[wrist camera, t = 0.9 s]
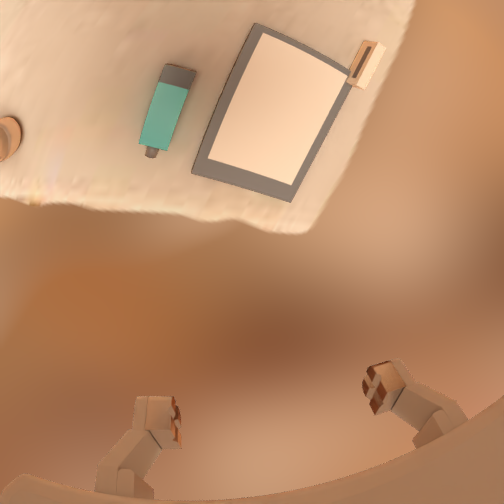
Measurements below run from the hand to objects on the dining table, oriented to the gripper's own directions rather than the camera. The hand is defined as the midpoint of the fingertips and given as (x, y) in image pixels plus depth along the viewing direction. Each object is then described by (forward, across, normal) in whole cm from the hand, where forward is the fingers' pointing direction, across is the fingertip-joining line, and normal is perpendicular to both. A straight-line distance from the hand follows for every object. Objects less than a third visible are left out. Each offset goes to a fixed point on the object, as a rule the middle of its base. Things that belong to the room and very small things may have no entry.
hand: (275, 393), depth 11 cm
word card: (+34, -21, -19) cm, 44 cm away
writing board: (+36, -8, -9) cm, 38 cm away
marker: (+34, +7, -12) cm, 37 cm away
